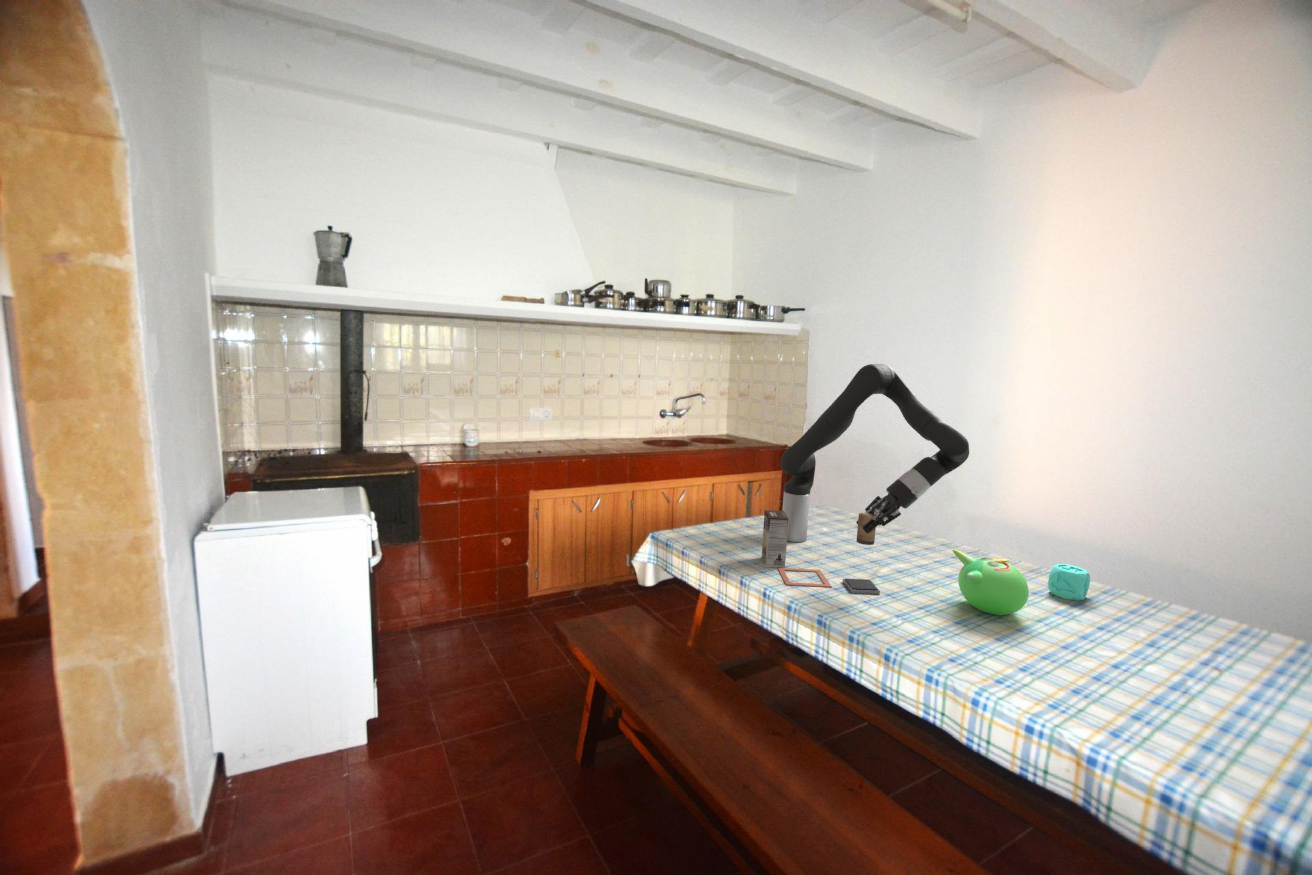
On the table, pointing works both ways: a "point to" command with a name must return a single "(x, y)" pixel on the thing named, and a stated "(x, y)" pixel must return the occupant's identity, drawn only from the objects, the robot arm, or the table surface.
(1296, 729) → the table surface
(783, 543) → the coffee box
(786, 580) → the marked square
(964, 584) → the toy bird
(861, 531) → the stamp
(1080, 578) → the decorative dice
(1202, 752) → the table surface
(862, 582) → the ink pad
